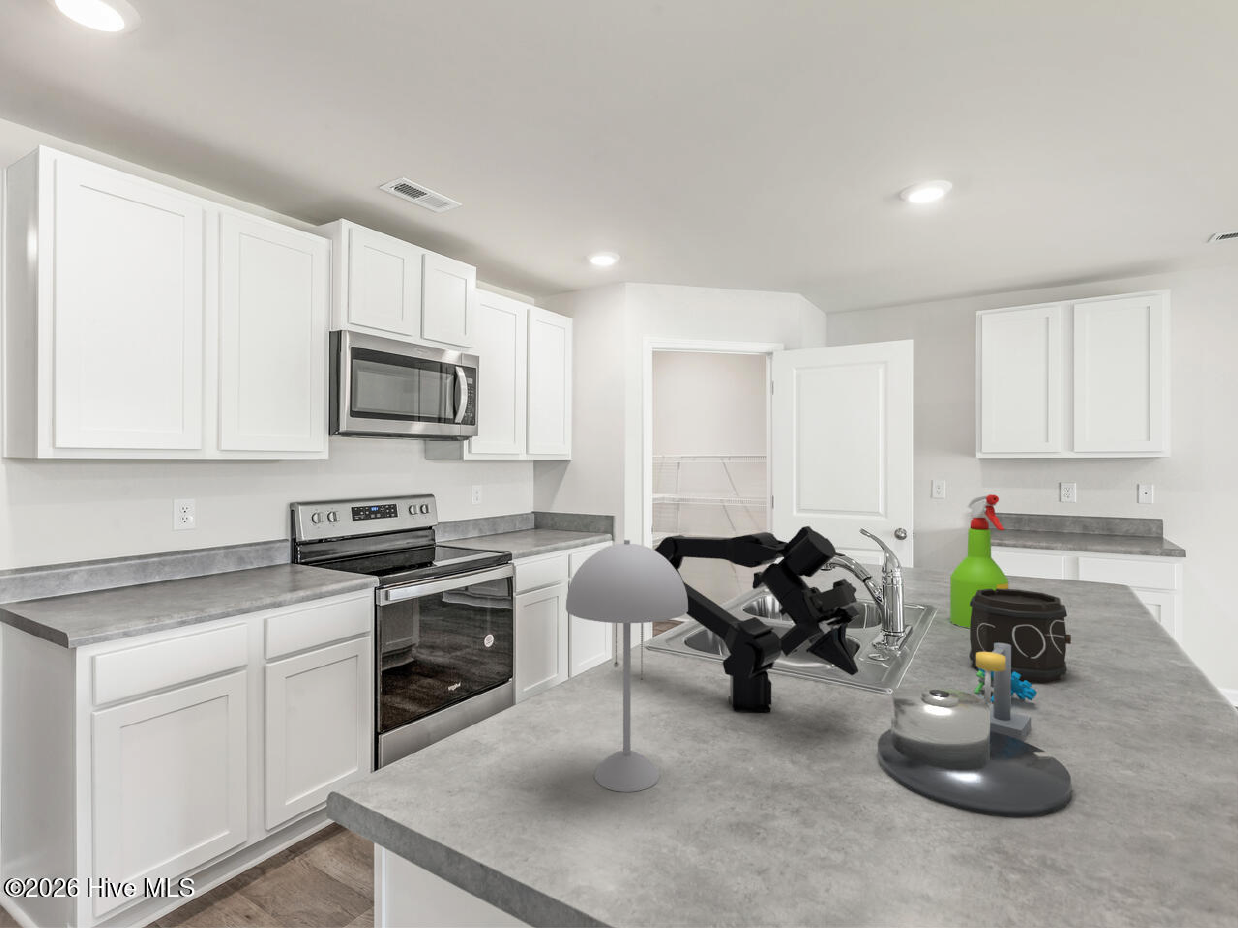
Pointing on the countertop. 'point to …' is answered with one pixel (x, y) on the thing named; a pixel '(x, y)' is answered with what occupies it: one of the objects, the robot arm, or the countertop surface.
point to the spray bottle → (976, 562)
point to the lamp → (626, 631)
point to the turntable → (987, 779)
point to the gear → (1016, 685)
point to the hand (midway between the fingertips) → (855, 673)
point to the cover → (940, 726)
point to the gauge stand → (1002, 692)
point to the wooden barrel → (1021, 631)
